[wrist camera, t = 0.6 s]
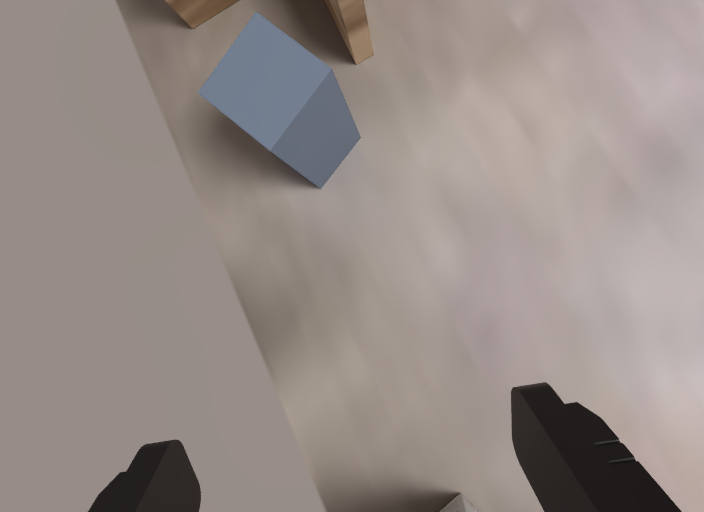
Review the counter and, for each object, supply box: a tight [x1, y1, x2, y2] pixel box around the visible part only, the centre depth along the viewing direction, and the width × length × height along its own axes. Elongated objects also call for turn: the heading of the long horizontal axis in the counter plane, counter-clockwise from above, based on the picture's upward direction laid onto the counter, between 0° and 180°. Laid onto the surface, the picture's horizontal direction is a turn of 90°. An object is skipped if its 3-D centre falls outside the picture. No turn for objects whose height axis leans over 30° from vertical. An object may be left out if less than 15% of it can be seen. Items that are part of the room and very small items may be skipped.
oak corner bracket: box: [165, 0, 374, 65], centre depth 27 cm, size 11×12×8 cm
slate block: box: [198, 12, 361, 189], centre depth 25 cm, size 5×5×11 cm
